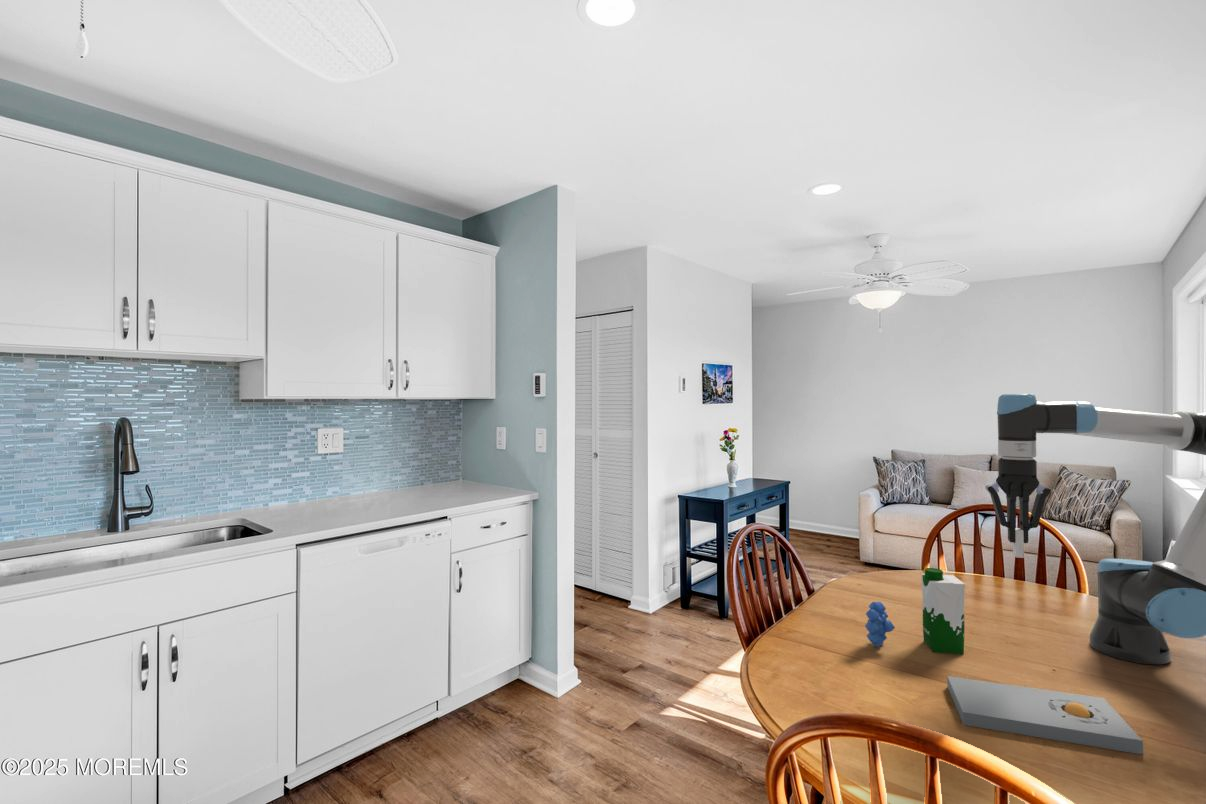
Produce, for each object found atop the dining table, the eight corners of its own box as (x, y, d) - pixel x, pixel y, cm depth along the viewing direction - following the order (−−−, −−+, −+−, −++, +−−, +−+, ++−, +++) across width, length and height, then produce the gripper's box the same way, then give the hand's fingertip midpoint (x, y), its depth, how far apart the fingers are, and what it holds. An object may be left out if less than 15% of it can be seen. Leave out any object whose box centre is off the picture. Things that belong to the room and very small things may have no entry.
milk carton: (918, 639, 155) (918, 565, 155) (956, 642, 153) (955, 566, 153) (930, 653, 147) (929, 574, 146) (970, 656, 145) (969, 576, 145)
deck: (1103, 710, 119) (1103, 697, 119) (1143, 754, 105) (1142, 740, 105) (947, 687, 130) (947, 676, 130) (963, 724, 115) (963, 712, 115)
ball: (1088, 716, 116) (1079, 696, 116) (1098, 727, 112) (1089, 707, 112) (1065, 720, 117) (1057, 700, 117) (1074, 731, 113) (1065, 711, 113)
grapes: (888, 658, 144) (888, 610, 144) (860, 651, 149) (859, 604, 148) (901, 643, 153) (900, 598, 153) (874, 637, 157) (873, 592, 157)
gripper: (989, 458, 138) (990, 557, 138) (1055, 460, 134) (1056, 562, 134) (981, 456, 145) (982, 550, 145) (1044, 457, 141) (1045, 554, 141)
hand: (1018, 556), depth 140 cm, fingers closed
